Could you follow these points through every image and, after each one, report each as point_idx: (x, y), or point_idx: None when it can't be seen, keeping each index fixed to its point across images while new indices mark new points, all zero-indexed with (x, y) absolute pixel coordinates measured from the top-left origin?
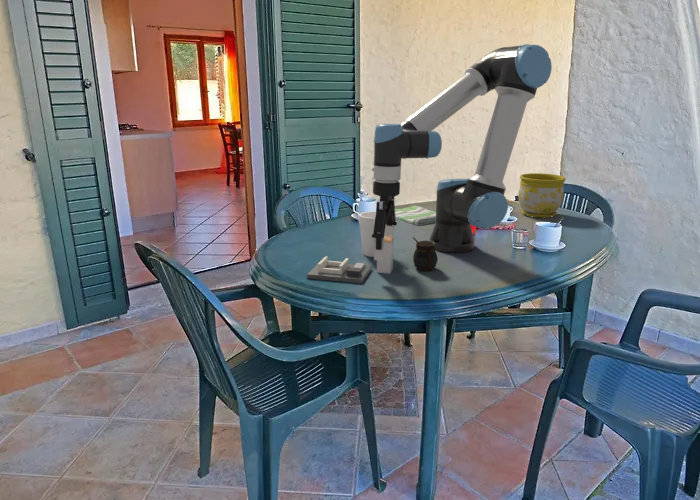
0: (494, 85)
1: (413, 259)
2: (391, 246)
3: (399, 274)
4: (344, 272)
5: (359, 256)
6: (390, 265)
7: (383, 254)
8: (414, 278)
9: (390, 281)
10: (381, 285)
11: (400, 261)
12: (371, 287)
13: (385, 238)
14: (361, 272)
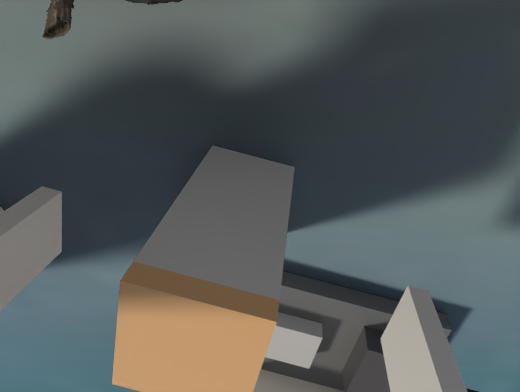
0: None
1: (167, 2)
2: (248, 261)
3: (310, 111)
4: (334, 385)
5: (36, 293)
6: (289, 188)
7: (441, 329)
8: (398, 8)
9: (434, 176)
10: (492, 228)
11: (55, 83)
12: (510, 277)
13: (197, 357)
14: (338, 323)
